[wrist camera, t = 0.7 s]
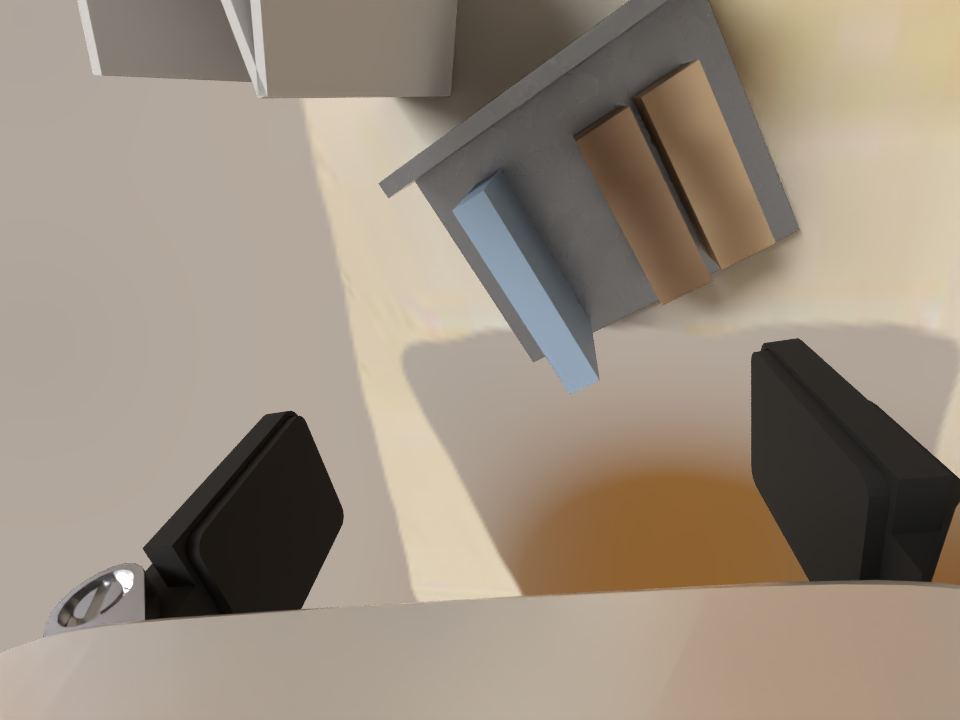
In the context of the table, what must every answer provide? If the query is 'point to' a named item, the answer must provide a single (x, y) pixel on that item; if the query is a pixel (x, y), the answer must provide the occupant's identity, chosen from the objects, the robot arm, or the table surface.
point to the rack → (562, 168)
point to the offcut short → (704, 164)
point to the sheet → (530, 279)
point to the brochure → (279, 44)
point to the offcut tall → (642, 203)
